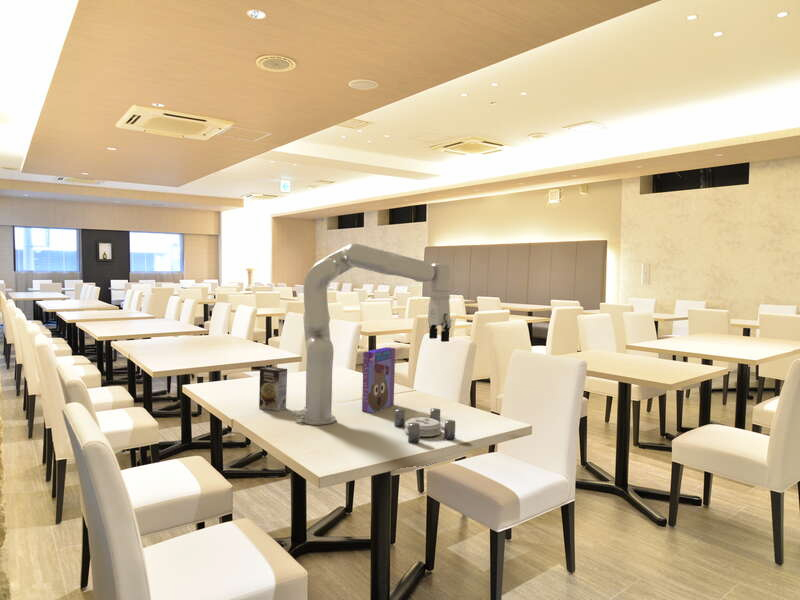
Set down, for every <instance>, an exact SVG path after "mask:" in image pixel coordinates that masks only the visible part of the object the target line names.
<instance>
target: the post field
mask: <svg viewBox="0 0 800 600" xmlns="http://www.w3.org/2000/svg"><path fill="white" fill-rule="evenodd" d="M429 412H430V414H429V415H430V417H429V418H432V419H435V420H438V421H439V422H440V423H441V409H440V408H437V407H433V408H430V411H429ZM405 413H406V409H404V408H395V409H394V428H398V427H399V428H401V427H402V428H404V427H405V422H406V418H405V416H406V414H405ZM402 428H401V429H402ZM419 428H420V424H419V423H409V429H408V433H407V437H408V438H407V443H408V442H409V443H408V444H411V443H417V444H419V443H420V436H419ZM443 433H444V434H443V439H444V440H445V439H446V440H445V441H449V440H452V441H455V440H456V420H453V419H446V420H444V432H443ZM454 439H455V440H454Z"/></svg>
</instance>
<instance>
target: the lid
mask: <svg viewBox="0 0 800 600" xmlns="http://www.w3.org/2000/svg"><path fill="white" fill-rule="evenodd" d="M409 423H419V424H420V428H419V437H434V436H438V435H440V434H441V433H442V430H441V427H442V423H441V421H440V422H439V421H438V420H435V419H432V418H430V417H422V416H420V417H411V418H409V419H407V420H405V424H404V426H405V428H404V432H405V433H406V434H408V429H409Z"/></svg>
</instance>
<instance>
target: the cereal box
mask: <svg viewBox="0 0 800 600" xmlns="http://www.w3.org/2000/svg"><path fill="white" fill-rule="evenodd" d="M362 364H363V365H362V394H361V395H362V396H361V397H362V399H361V400H362V401H361V404H362V405H361V412H362V411H364V412H363V413H367V412H370V413H369V414H374V413H377V412H380V411H381V409H382V410H384V409H386V407H387V408H389V407H392V406H393V404H394V403H395V375H396V374H395V372H396V371H395V367H396V348H394V347H382V348H376V349H372V350H368V351H363V358H362ZM391 405H392V406H391ZM376 411H377V412H376ZM373 412H374V413H373Z"/></svg>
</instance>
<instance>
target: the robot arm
mask: <svg viewBox="0 0 800 600" xmlns="http://www.w3.org/2000/svg"><path fill="white" fill-rule="evenodd" d="M354 267H355V268H359V269H362V270H367V271H370V272H375V273H378V274H383V275H388V276H397V277H403V278H405V279H406V278H407V279H411V280H413V281H415V282H418V283H429V282H430V284H429V285H430V287H429V290H430V291H429V304H428V309H427V310H428V313H427V314H428V315H427V323H428V328H429V330H428V331H429V333H428V334H429V336H428V337H429V339H430V340H432V339H433V340H434V339H438V328H437V327H438V326H440V328H441V331H440V341H441V342H442V343H443V342H444V343H445V342H450V330H451V327H452V319H451V310H450V309H451V308H450V307H451V306H450V299H451V298H450V297H451V265H450V264H449V263H446V262H434V263H430V262H428V261H424V260H420V259H417V258H413V257H408V256H405V255H400V254H398V253H395V252H391V251H387V250H384V249H383V250H382V249H378V248H374V247H372V246H368V245H363V244H359V243H350V244H348V245H346V246H344V247H342V248H341V249H339V250H337V251H335V252H334V253H332V254H330V255H328V256H326V257H324V258H322V259H320V260H319V261H318V262H316V263H315V264H313V266H312V267H310V269H309V270H308V272H307V273H306V275H305V278H304V281H303V305H304V312H303V328H304V329H303V330H304V340H305V342H304V343H305V348H306V363H305V364H306V367H305V368H306V371H305V406H304V407H303V408H301V409H300V410H297V409H296V410H295V409H294V410H292V416H293V417H294V416H296V417H297V418H298V417H300V418H301V419H300V421H301V422H302V423H304V424H306V425H312V426H322V425H323V426H325V425H329V424H333V423H334V422H336V416H335V415H333V414H332V411H333V410H332V407H333V406H332V404H333V403H332V402H333V366H334V363H333V362H334V353H335V352H334V351H335V350H334V345H333V342H332V340H331V334H330V331H331V330H330V321H331V318H330V317H331V316H330V311H329V305H328V303H329V302H328V287H329V284H330V283H331V282H332V281H334V280H336V278H337V277H339V276H340V275H342V274H345V273H346V272H348V271H350V270H352V269H353V268H354Z"/></svg>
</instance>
